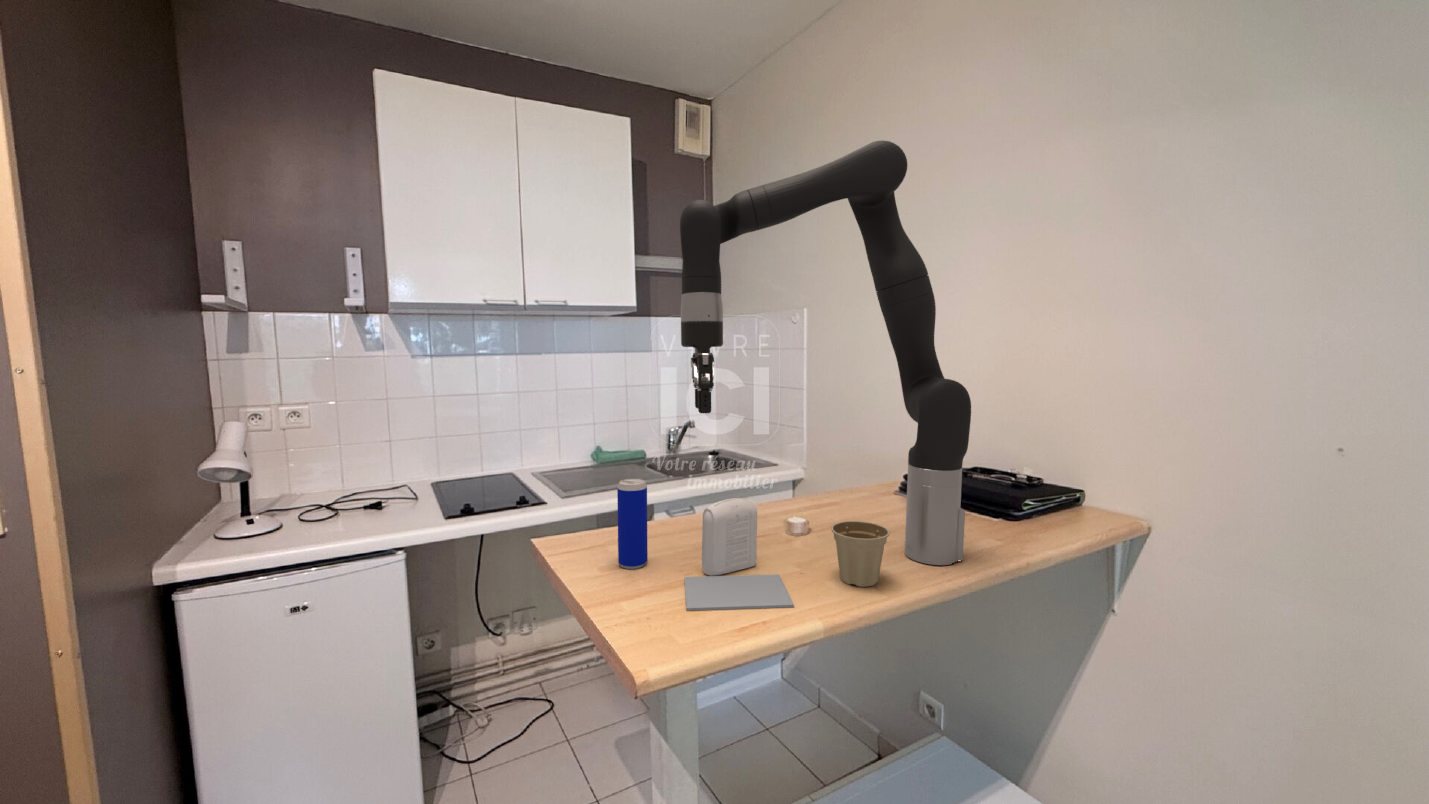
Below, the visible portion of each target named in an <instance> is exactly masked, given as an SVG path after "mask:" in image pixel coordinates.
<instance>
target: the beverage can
mask: <svg viewBox="0 0 1429 804" xmlns="http://www.w3.org/2000/svg"><path fill="white" fill-rule="evenodd" d="M616 488H617V489H616V490H617V491H616V492H617V496H616V497H617V555H618V556H617V560H618V561H617V563H618V564H619V565H620V567H621V568H623V569H627V570H637V569H641V568H643V567H644V566H646V564H647V563H648V559H649V558H648V485H647V482H646V480H644V479H642V478H625V479H621V480H620V481H619V482H618V485H617V487H616Z"/></svg>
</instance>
